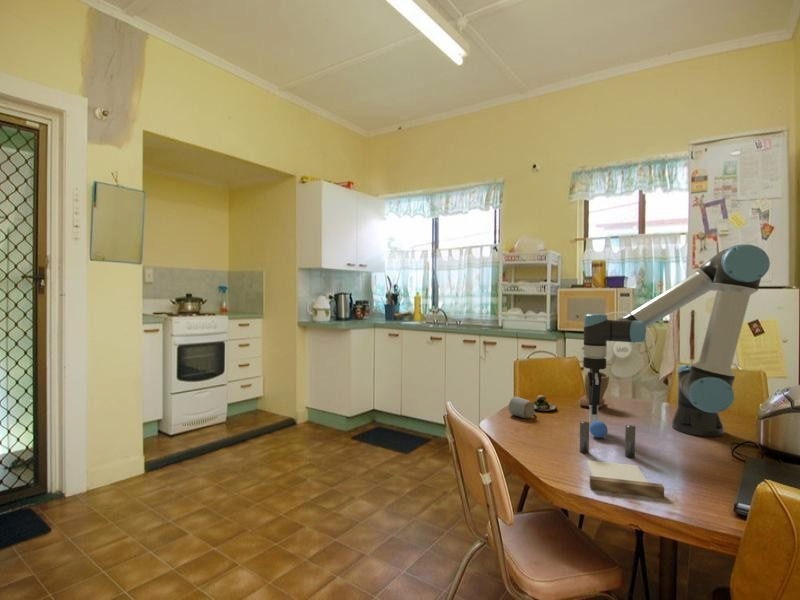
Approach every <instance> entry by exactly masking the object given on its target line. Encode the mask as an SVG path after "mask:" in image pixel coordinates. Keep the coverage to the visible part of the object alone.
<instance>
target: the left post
mask: <svg viewBox="0 0 800 600" xmlns="http://www.w3.org/2000/svg"><path fill="white" fill-rule="evenodd" d="M579 452H580V453H581V454H586V455H587V454H589V453H590V422H589V421H579Z"/></svg>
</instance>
